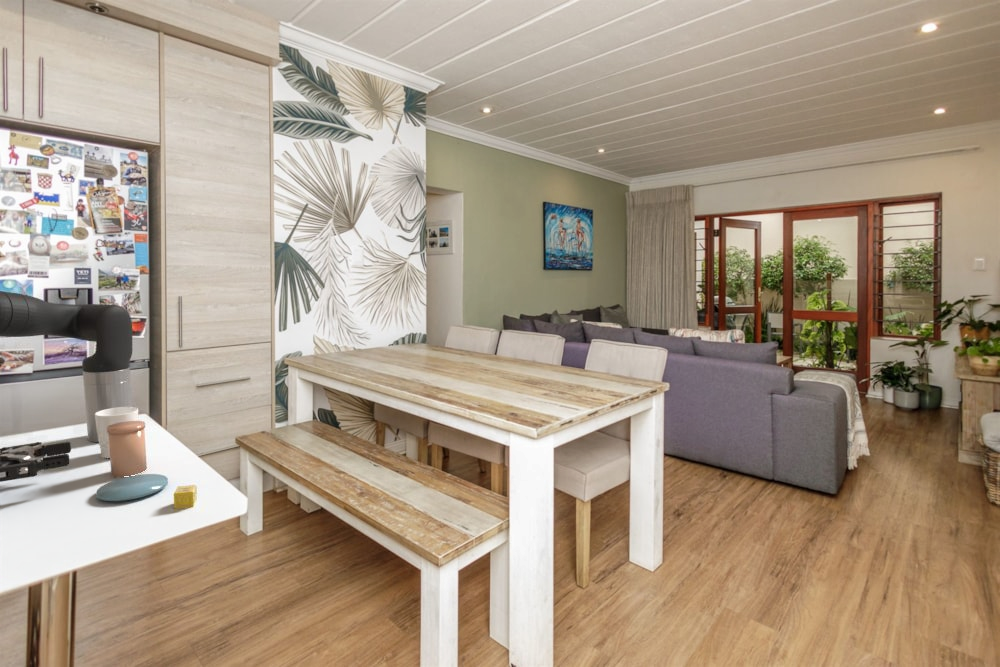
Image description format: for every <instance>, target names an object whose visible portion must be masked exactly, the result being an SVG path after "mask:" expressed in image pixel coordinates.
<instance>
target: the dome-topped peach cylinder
mask: <svg viewBox="0 0 1000 667" xmlns="http://www.w3.org/2000/svg"><path fill="white" fill-rule="evenodd" d="M145 429H146V422H145V421H142V420H138V421H127V422H120V423H116V424H112V425H110V426H108V427H107V433H108V436H109V450H110V459H109V462H110V474H111V475H112V476H115V477H114V478H117V477H122V478H125V477H124V476H131V475H135V474H138V473H141V472H143V471H145V470H146V469H147V470H148V466H147V453H146V452H147V451H146V450H147V448H146V434H145V433H146V432H145ZM147 470H146V471H147ZM146 471H145V472H146ZM143 473H144V472H143ZM141 474H142V473H141ZM138 475H139V474H138ZM112 476H111V477H112Z"/></svg>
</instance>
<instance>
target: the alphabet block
mask: <svg viewBox="0 0 1000 667" xmlns="http://www.w3.org/2000/svg"><path fill="white" fill-rule="evenodd" d="M197 488H198V487H197V484H190V485H179V486H177V487H176V490H175V491H174V493H173V508H174V509H175V510H178V509H177V508H179V509H185V507H188V508H193V507H194V506H195V504H196V502H197V499H198V494H197V491H198V490H197ZM183 507H184V508H183Z"/></svg>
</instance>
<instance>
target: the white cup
mask: <svg viewBox="0 0 1000 667" xmlns="http://www.w3.org/2000/svg"><path fill="white" fill-rule="evenodd" d="M95 420H96V428H97V435H98V441H99V442H98V445H99V448H100V455H101V458H103V459H106V458H107V459H108V458H110V450H109V436H108V433H107V427H108V426H110V425H112V424H116V423H120V422H127V421H139V408H138V407H135V406H132V407H117V408H110V409H105V410H101V411H98V412H96V413H95Z"/></svg>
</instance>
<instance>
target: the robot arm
mask: <svg viewBox="0 0 1000 667" xmlns="http://www.w3.org/2000/svg"><path fill="white" fill-rule="evenodd" d="M39 336H58V337H64V338H71V339H76V340H80V341H86V342H94V343H95V352H94V353H93V354H92V355H91V356H87V357H84V358H83V360H82V362H81V364H82V367H81V368H82V380H83V389H84V390H83V393H84V402H85V415H86V428H87V439H88V441H90V442H94V443H95V442H97V443H99V441H98V435H97V428H96V420H95V413H96V412H98V411H101V410H105V409H110V408H117V407H133V398H132V396H133V395H132V381H131V367H130V361H131V358H132V356H133V322H132V318H131V315H130V313H129V311H128V310H127V309H126V308H124V307H123V306H121V305H117V304H99V303H97V304H96V303H95V304H94V303H90V304H89V303H87V304H71V303H70V304H69V303H68V304H67V303H66V304H64V303H54V302H49V301H46V300H44V299H40V298H38V297H34V296H31V295H27V294H22V293H18V292H11V291H10V292H9V291H3V290H0V337H3V338H4V337H7V338H25V337H27V338H29V337H39ZM71 451H72V444H71V442H69V441H64V442H56V443H49V444H45V443H42V442H39V441H37V442H31V443H25V444H20V445H19V444H18V445H12V446H3V447H1V448H0V482H8V481H13V480H19V479H26V478H34V477H36V476H38V474H39V473H42V472H43V471H46V470H51V469H57V468H63V467H68V466H69V465H70V463H71V462H70V456H69V455H70V453H71Z"/></svg>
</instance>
